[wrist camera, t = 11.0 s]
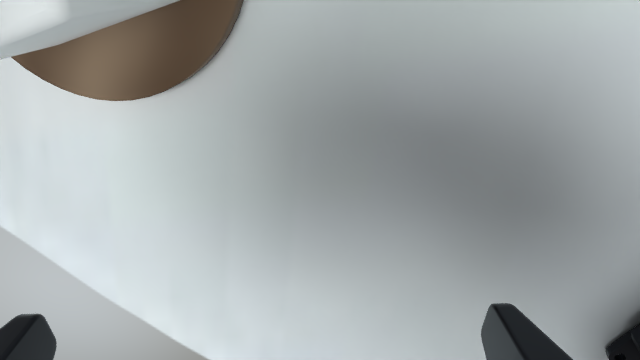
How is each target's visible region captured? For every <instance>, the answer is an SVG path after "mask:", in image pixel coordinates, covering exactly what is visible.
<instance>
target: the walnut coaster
mask: <svg viewBox="0 0 640 360" xmlns="http://www.w3.org/2000/svg"><path fill="white" fill-rule="evenodd" d="M242 3H243V0H180V1H177V2H174V3H171V4H169V5H166V6H163V7H160V8H158V9H155V10H152V11H149V12H147V13H144V14H141V15H139V16H136V17H133V18H130V19H128V20H125V21H122V22H119V23H117V24H114V25H111V26H109V27H106V28H103V29H100V30H98V31H95V32H92V33H89V34H87V35H84V36H81V37H78V38H76V39H73V40H70V41H68V42H65V43H62V44H59V45H56V46H52V47H48V48H44V49H40V50H36V51H32V52H28V53H24V54H20V55H16V56H12V57H11V58H13V59H14V60H15V61H17V62H18V63H19V64H20V65H22V66H23V67H24V68H26V69H27V70H29V71H30V72H32V73H33V74H35V75H36V76H38V77H40V78H41V79H43V80H45V81H47V82H49V83H51V84H53V85H55V86H57V87H59V88H61V89H64V90H66V91H69V92H72V93H74V94H77V95H81V96H85V97H89V98H93V99H99V100H109V101H126V100H136V99H141V98H146V97H150V96H153V95H156V94H158V93H161V92H164V91H166V90H168V89H170V88H172V87H174V86H176V85H177V84H179V83H181V82H183V81H184V80H186V79H188V78H190V77H191V76H193V75H194V74H195V73H196V72H198V71H199V70H200V69H201V68H203V67H204V66H205V65H206V64H207V63H208V62H209V61H210V60H211V59H212V58H213V56H214V55H215V54H216V53H217V52H218V51H219V49H220V48H221V46H222V45H223V43H224V42H225V40H226V39H227V37H228V36H229V34H230V32H231V30H232V28H233V26H234V24H235V22H236V20H237V18H238V15H239V12H240V9H241V6H242Z"/></svg>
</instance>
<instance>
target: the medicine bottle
mask: <svg viewBox="0 0 640 360" xmlns="http://www.w3.org/2000/svg"><path fill="white" fill-rule="evenodd" d="M177 1H180V0H0V59H4V58H8V57H12V56H16V55H20V54H24V53H28V52H32V51H36V50H40V49H44V48H48V47H52V46H56V45H59V44H62V43H65V42H68V41H70V40H73V39H76V38H78V37H81V36H84V35H87V34H89V33H92V32H95V31H98V30H100V29H103V28H106V27H109V26H111V25H114V24H117V23H119V22H122V21H125V20H128V19H130V18H133V17H136V16H139V15H141V14H144V13H147V12H149V11H152V10H155V9H158V8H160V7H163V6H166V5H169V4H171V3H174V2H177Z"/></svg>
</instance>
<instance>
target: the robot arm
mask: <svg viewBox="0 0 640 360" xmlns="http://www.w3.org/2000/svg"><path fill="white" fill-rule="evenodd" d="M481 337H482V343H483V347H484V351H485V355H486V360H573V359H572V358H571V357H570V356H568V355H567V354H566V353H565V352H564V351H563V350H562V349H561V348H560V347H559V346H558V345H556V344H555V343H554V342H553V341H552V340H551V339H550V338H549V337H548V336H547V335H545V334H544V333H543V332H542V331H541V330H540V329H539V328H538V327H537V326H536V325H535V324H533V323H532V322H531V321H530V320H529V319H528V318H527V317H526V316H525V315H524V314H523V313H521V312H520V311H519V310H518V309H517V308H516V307H515V306H513V305H512V304H508V303H499V304H491V305H490V306H489V308H488V311H487V314H486V317H485V320H484V323H483V326H482V330H481ZM55 351H56V339H55V336H54V334H53V332H52V331H51V329H50V327H49V325H48V323H47V321H46V319H45V317H44V316H43V315H41V314H21V315H18V316H16V317H15V318H13V319H12V320H11V321H9V322H8V323H7V324H6V325H4V326H3V327H2V328H0V360H53V358H54V355H55ZM606 354H607V356H608V359H609V360H640V324H638V325H637V326H636V327H634V328H633V329H631V330H630V331H629V332H627V333H626V334H625V335H623V336H622V337H620V338H619V339H618V340H616V341H615V342H614V343H612V344H611V345H610V346H608V347H607V348H606ZM617 354H619V355H617Z"/></svg>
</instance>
